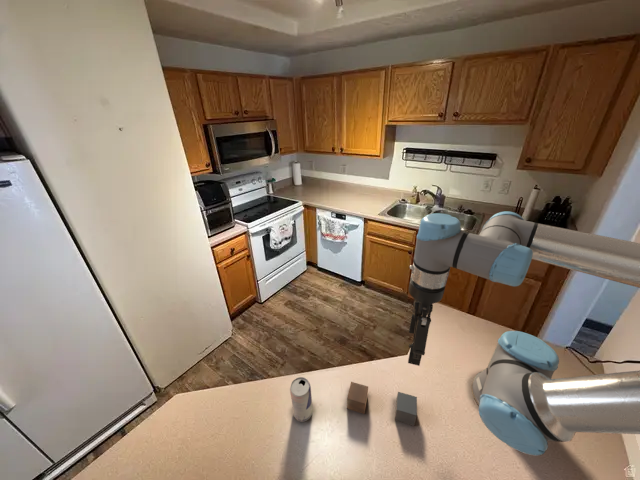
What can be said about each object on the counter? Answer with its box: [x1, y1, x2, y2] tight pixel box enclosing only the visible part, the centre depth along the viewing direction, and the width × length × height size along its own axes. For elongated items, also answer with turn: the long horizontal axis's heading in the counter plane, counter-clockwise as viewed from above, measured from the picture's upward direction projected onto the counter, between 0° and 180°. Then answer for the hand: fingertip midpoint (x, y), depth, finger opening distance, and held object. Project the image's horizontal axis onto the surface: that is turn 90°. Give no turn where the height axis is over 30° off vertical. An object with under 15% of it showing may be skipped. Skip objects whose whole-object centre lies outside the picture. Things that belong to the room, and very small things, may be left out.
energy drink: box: [289, 376, 314, 423], centre depth 69 cm, size 5×5×12 cm
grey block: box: [394, 391, 418, 427], centre depth 70 cm, size 5×5×5 cm
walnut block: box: [346, 381, 369, 415], centre depth 73 cm, size 5×5×5 cm
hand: (413, 347), depth 69 cm, fingers open, 9 cm apart
